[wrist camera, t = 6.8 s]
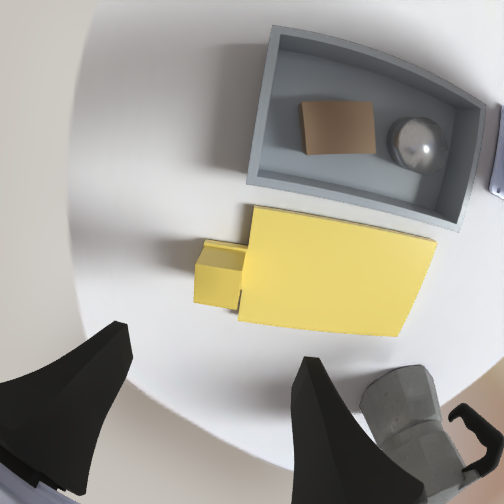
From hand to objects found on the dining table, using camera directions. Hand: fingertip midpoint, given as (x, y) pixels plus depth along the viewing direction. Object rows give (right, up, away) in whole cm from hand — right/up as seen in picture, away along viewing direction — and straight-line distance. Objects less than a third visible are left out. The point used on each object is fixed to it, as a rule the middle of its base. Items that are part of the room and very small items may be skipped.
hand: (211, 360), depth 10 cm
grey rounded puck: (+12, +11, +5) cm, 17 cm away
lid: (+7, +3, +10) cm, 12 cm away
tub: (+9, +12, +5) cm, 16 cm away
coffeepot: (+18, -11, +15) cm, 26 cm away
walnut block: (+6, +12, +5) cm, 14 cm away
